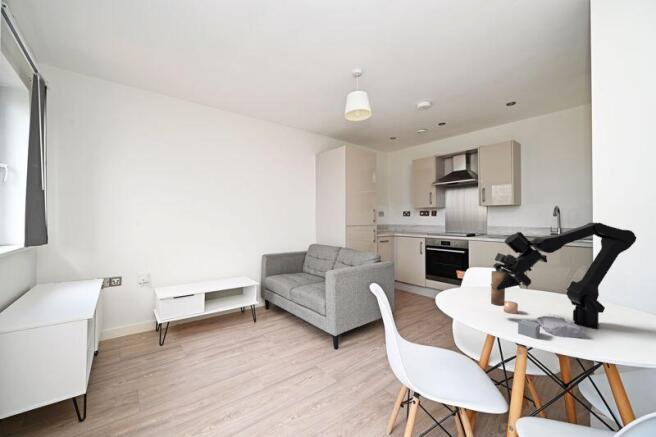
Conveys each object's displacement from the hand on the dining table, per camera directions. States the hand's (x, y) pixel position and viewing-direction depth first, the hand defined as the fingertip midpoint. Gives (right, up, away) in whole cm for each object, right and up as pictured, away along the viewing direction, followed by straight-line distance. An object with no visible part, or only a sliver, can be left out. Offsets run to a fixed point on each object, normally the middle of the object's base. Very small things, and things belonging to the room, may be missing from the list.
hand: (494, 287), depth 107 cm
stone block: (+15, -13, -11) cm, 23 cm away
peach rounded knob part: (+12, -13, +8) cm, 19 cm away
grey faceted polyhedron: (+3, -13, -14) cm, 19 cm away
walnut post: (+1, -7, 0) cm, 7 cm away
